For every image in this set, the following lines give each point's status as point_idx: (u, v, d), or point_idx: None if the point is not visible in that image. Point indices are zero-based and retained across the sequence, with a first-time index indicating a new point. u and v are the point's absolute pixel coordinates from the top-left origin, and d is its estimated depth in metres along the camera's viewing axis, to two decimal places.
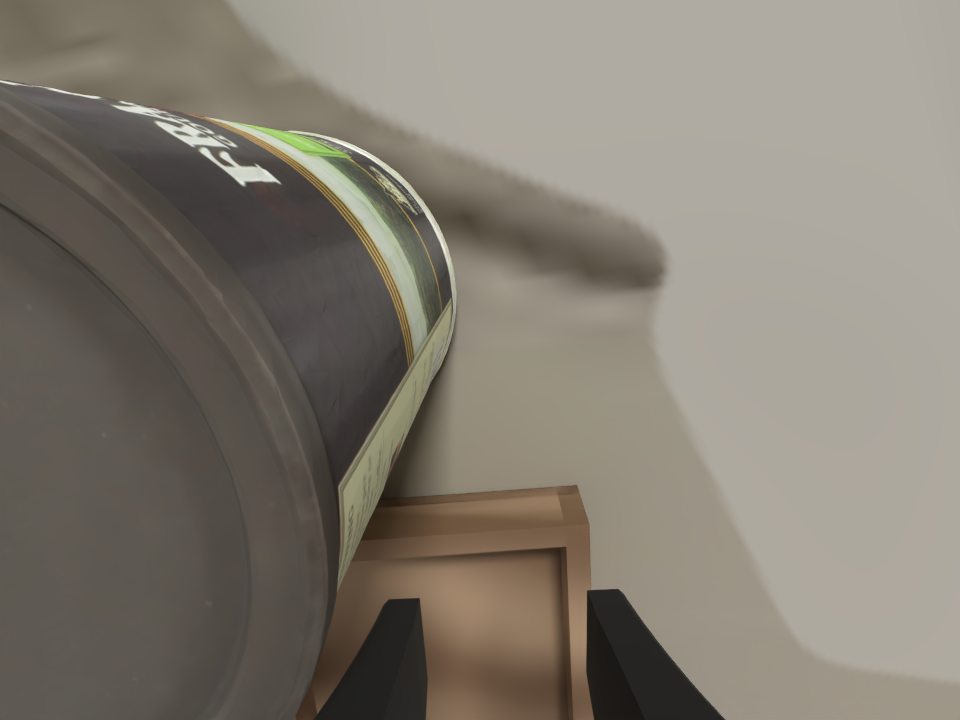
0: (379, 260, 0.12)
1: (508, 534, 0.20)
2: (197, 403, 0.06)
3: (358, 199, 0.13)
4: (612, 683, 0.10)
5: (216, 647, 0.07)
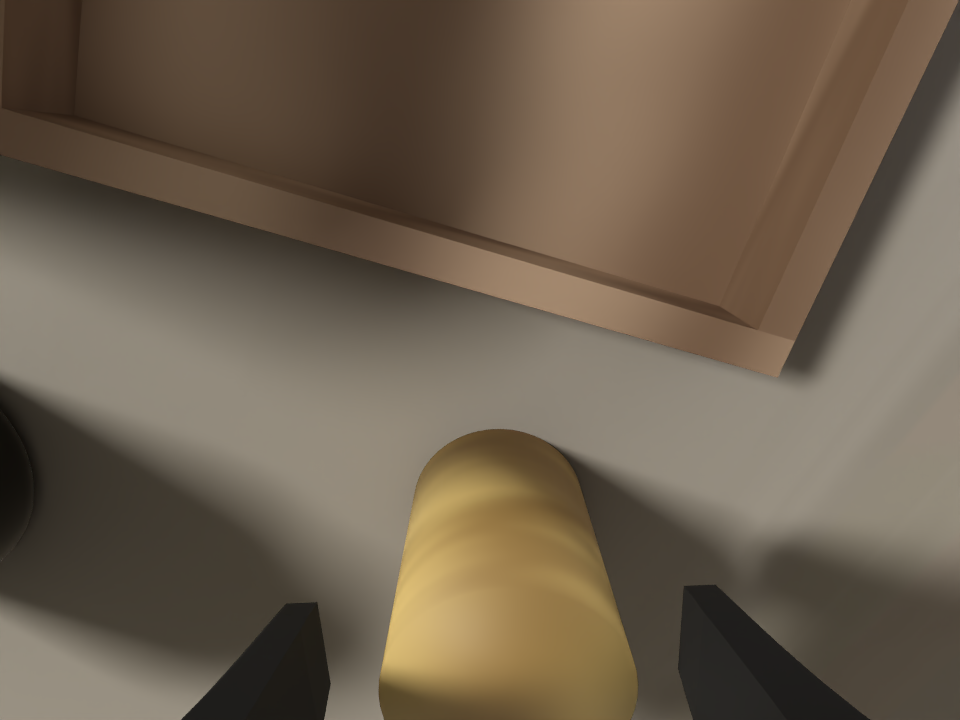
0: None
1: None
2: None
3: None
4: (725, 678, 0.10)
5: None
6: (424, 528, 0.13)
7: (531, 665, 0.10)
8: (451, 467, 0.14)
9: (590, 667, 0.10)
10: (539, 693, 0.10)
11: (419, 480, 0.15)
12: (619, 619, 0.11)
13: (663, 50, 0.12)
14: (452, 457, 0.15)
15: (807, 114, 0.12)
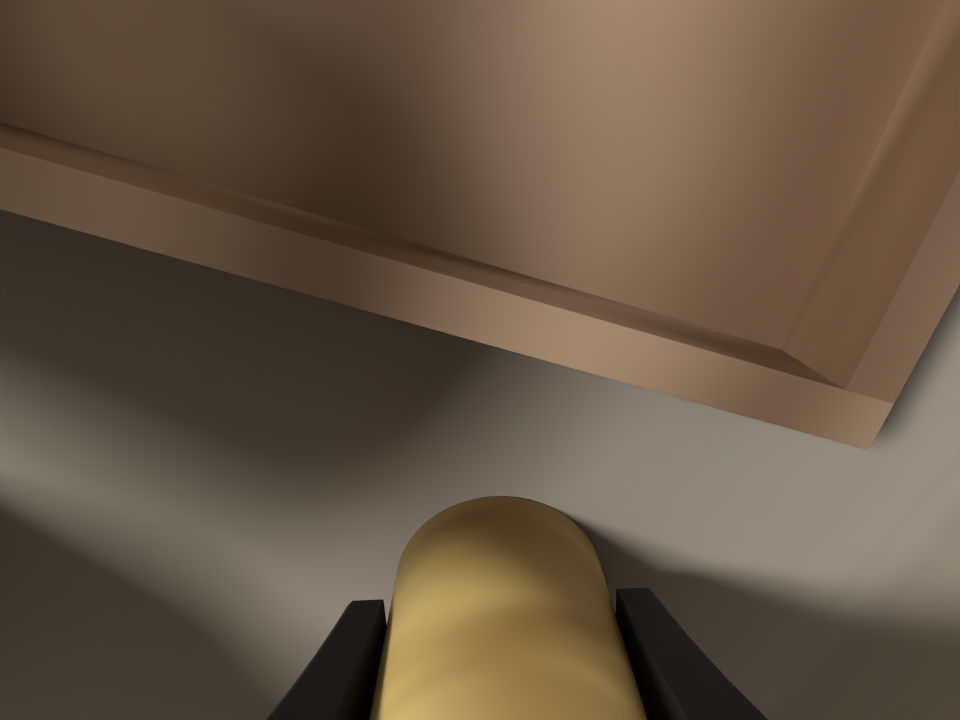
0: None
1: None
2: None
3: None
4: (646, 681, 0.10)
5: None
6: (404, 647, 0.10)
7: None
8: (441, 551, 0.11)
9: None
10: None
11: (402, 559, 0.13)
12: None
13: (717, 20, 0.09)
14: (442, 535, 0.12)
15: (906, 104, 0.09)
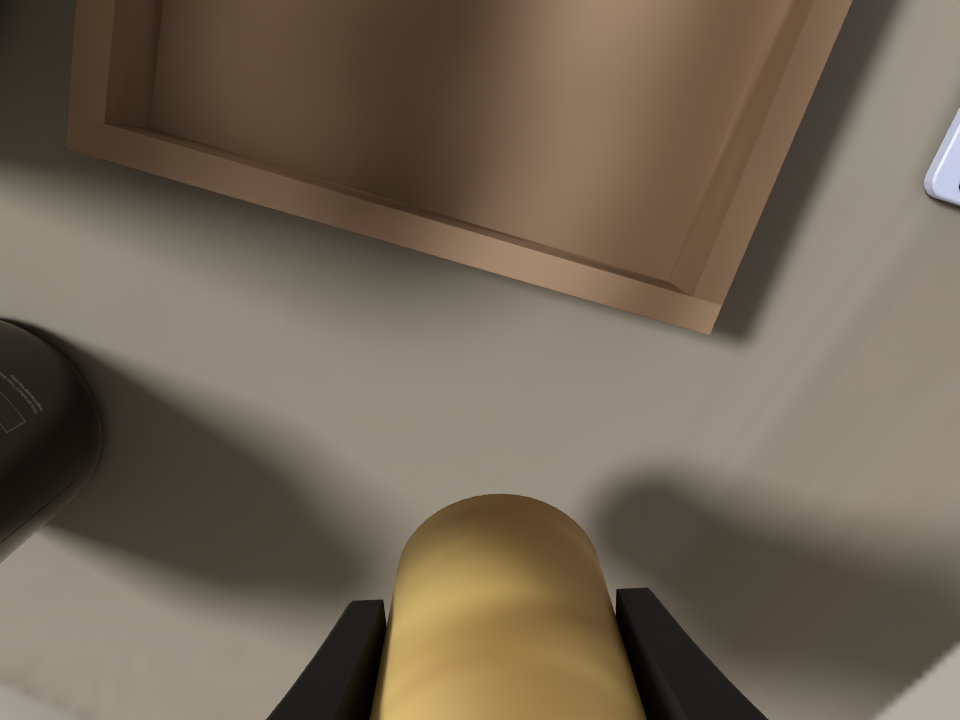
0: None
1: None
2: None
3: None
4: (646, 682, 0.10)
5: None
6: (405, 642, 0.10)
7: None
8: (441, 548, 0.11)
9: None
10: None
11: (402, 556, 0.13)
12: None
13: (617, 77, 0.15)
14: (443, 532, 0.12)
15: (732, 127, 0.15)
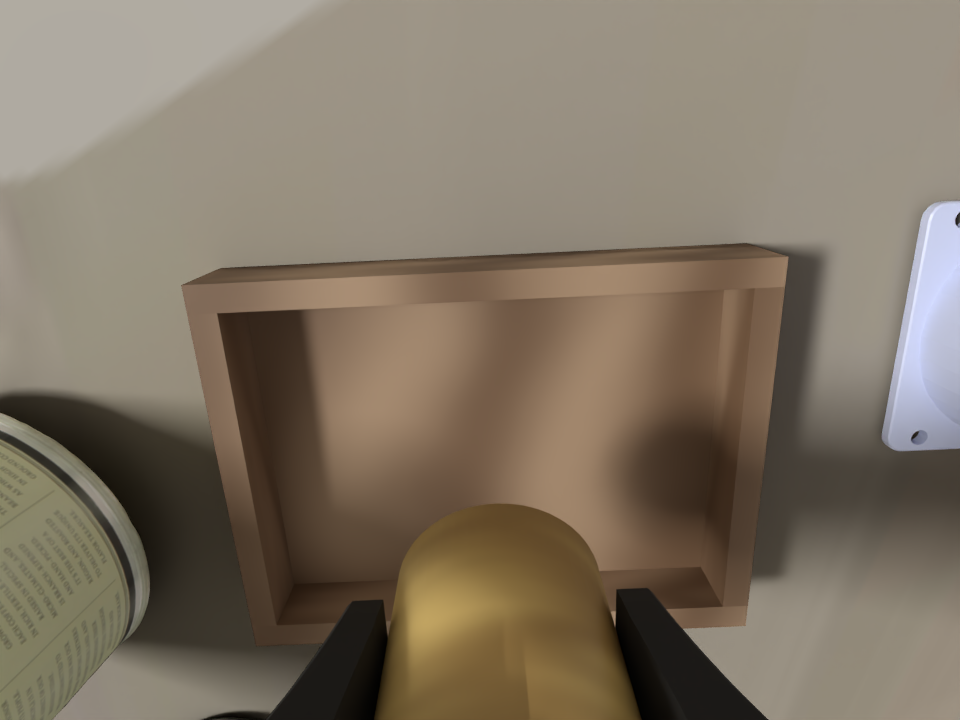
0: None
1: (207, 381, 0.17)
2: None
3: None
4: (646, 682, 0.10)
5: None
6: (401, 662, 0.10)
7: None
8: (436, 564, 0.11)
9: None
10: None
11: (401, 570, 0.13)
12: None
13: (613, 455, 0.20)
14: (438, 547, 0.12)
15: (712, 464, 0.20)
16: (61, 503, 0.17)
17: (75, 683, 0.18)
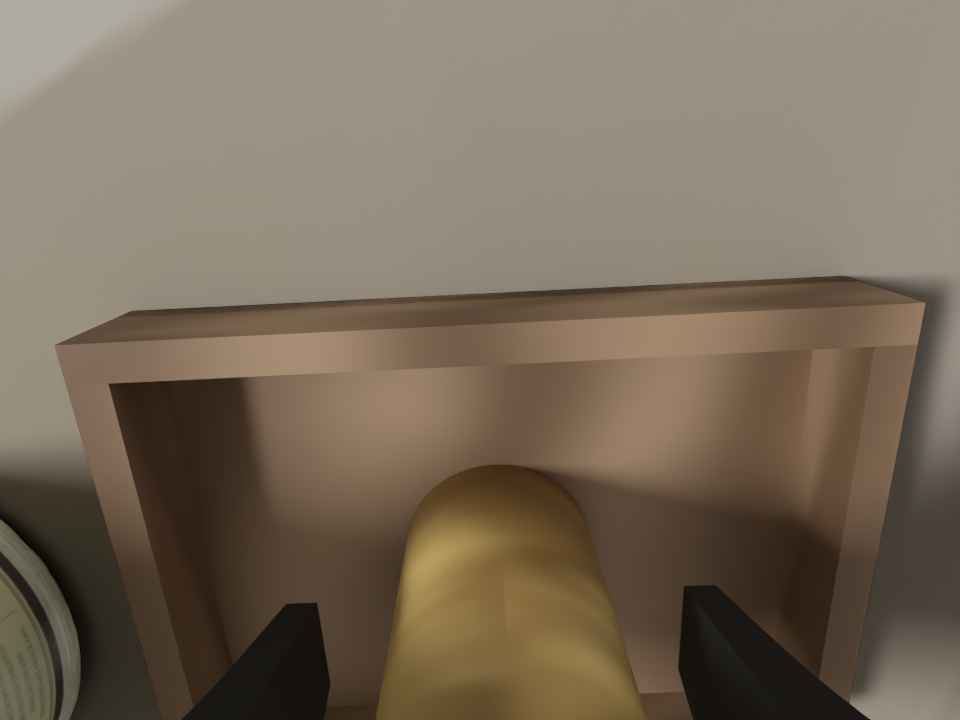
0: None
1: (101, 474, 0.12)
2: None
3: None
4: (725, 678, 0.10)
5: None
6: (413, 588, 0.11)
7: None
8: (442, 512, 0.13)
9: None
10: None
11: (410, 525, 0.14)
12: (634, 688, 0.10)
13: (657, 553, 0.15)
14: (444, 500, 0.13)
15: (789, 566, 0.15)
16: None
17: None
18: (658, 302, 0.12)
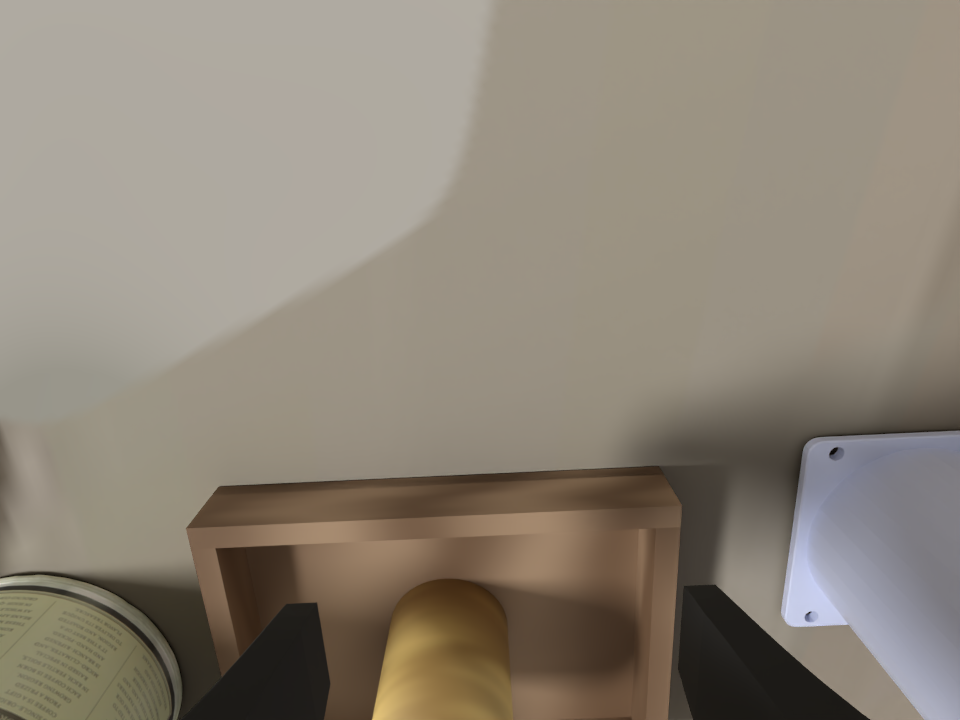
0: None
1: (208, 596, 0.20)
2: None
3: None
4: (725, 678, 0.10)
5: None
6: (390, 666, 0.20)
7: None
8: (410, 614, 0.21)
9: None
10: None
11: (392, 616, 0.23)
12: None
13: (552, 631, 0.23)
14: (412, 604, 0.22)
15: (635, 640, 0.23)
16: (65, 606, 0.22)
17: None
18: (536, 495, 0.20)
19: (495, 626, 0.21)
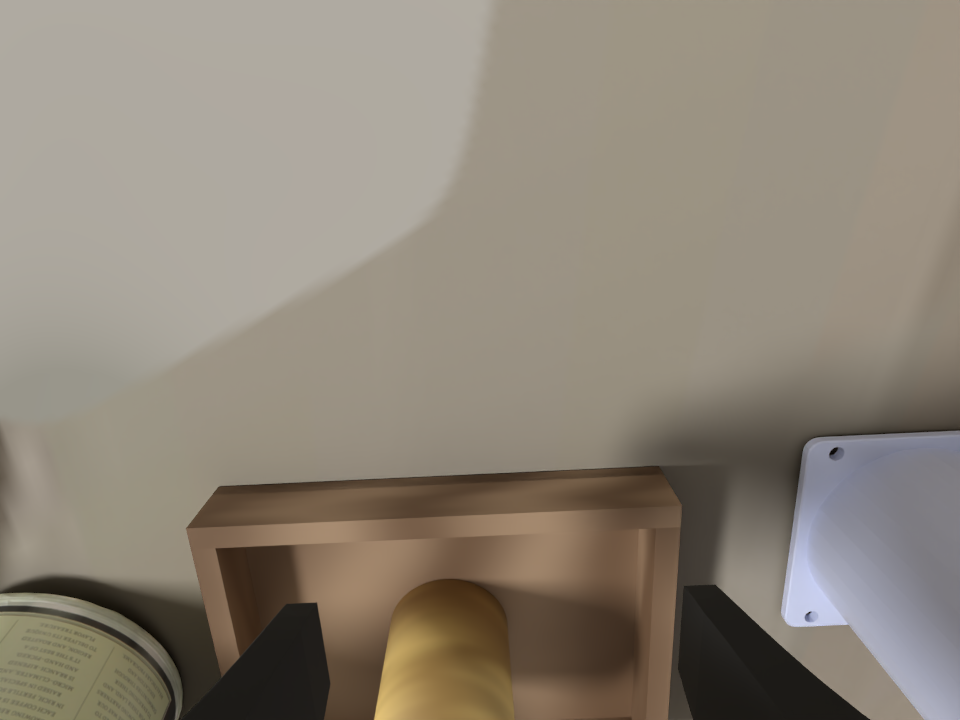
0: None
1: (208, 596, 0.20)
2: None
3: None
4: (725, 678, 0.10)
5: None
6: (391, 668, 0.20)
7: None
8: (411, 615, 0.21)
9: None
10: None
11: (392, 616, 0.23)
12: None
13: (552, 631, 0.23)
14: (412, 605, 0.22)
15: (635, 640, 0.23)
16: (28, 623, 0.21)
17: None
18: (536, 495, 0.20)
19: (496, 627, 0.21)
